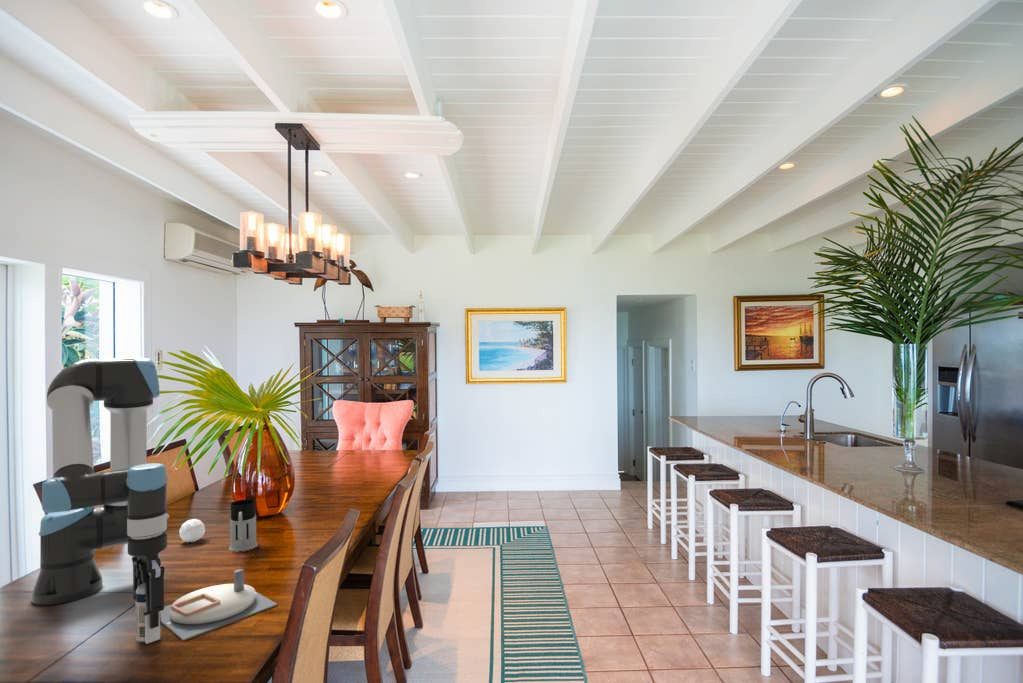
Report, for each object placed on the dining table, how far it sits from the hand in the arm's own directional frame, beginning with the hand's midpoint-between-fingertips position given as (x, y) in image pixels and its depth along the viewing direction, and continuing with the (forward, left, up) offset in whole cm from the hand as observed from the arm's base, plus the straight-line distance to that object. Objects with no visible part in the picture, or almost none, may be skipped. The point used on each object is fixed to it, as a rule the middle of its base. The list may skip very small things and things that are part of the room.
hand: (148, 636), depth 125 cm
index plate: (+16, +5, -1) cm, 17 cm away
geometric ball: (+33, +66, -1) cm, 73 cm away
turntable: (+16, +5, -1) cm, 17 cm away
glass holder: (+40, +43, -1) cm, 58 cm away
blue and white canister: (0, 0, -1) cm, 1 cm away
